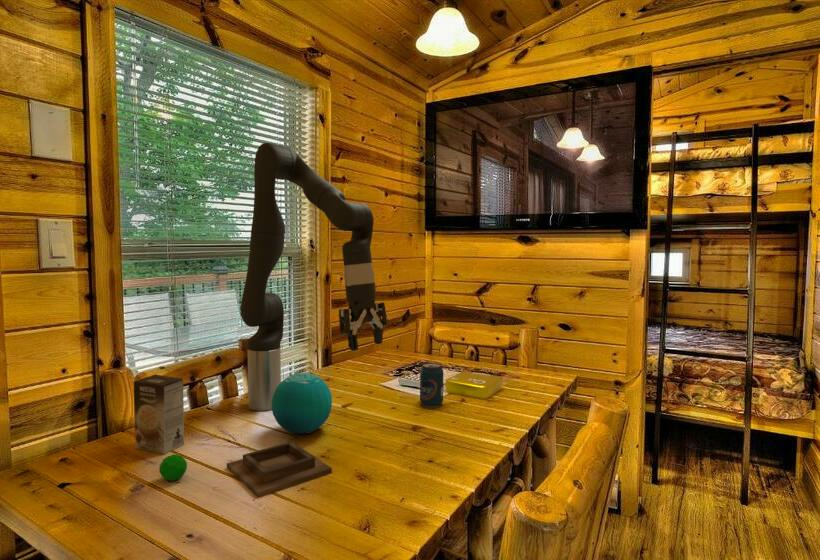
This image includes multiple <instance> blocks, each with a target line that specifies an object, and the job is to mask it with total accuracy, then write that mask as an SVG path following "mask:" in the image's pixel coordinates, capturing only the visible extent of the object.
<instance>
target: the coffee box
mask: <svg viewBox="0 0 820 560" xmlns="http://www.w3.org/2000/svg"><path fill="white" fill-rule="evenodd" d="M133 403H134V406H133V407H134V438H135V439H134V443H135V447H134V448H135V449H137V450H138V449H139V450H143V451H148V452H152V453H157V454H163V455H166V454H169V452H172V451H174V450H175V449H178V448H180V447H182V446H183V445H185V420H184V419H185V415H184V414H185V411H184V410H185V408H184V407H185V406H184V378H182V377H181V378H180V377H174V376H168V375H161V374H153V375H150V376H147V377H143V378H140V379H137V380H134V381H133Z"/></svg>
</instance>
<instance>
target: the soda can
mask: <svg viewBox="0 0 820 560" xmlns="http://www.w3.org/2000/svg"><path fill="white" fill-rule="evenodd" d="M421 365H422V366H421V368H420V369H419V371H420V373H419V401H420V403H421V405H422V406H423V407H426V408H438V407H440V406H442V404H443V402H444V369H443V367H442V364H441V363H438V362H425V363H423V364H421Z"/></svg>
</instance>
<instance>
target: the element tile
mask: <svg viewBox="0 0 820 560" xmlns="http://www.w3.org/2000/svg"><path fill="white" fill-rule="evenodd" d="M502 390H503V377H502V376H500V375H494V374H493V375H492V374H487V373H481V372H474V371H473V372H472V371H469V370H463V371H461V372H458V373H456V374H455V375H452V376H449V378H446V379H445V392H446V393H447V394H453V395H458V396H464V397H469V398H473V399H481V400H486V399H490V398H491V397H492V396H494V395H496V394H497V393H499V392H501V391H502Z"/></svg>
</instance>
